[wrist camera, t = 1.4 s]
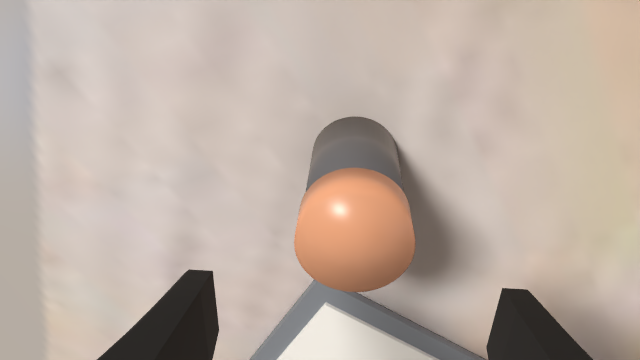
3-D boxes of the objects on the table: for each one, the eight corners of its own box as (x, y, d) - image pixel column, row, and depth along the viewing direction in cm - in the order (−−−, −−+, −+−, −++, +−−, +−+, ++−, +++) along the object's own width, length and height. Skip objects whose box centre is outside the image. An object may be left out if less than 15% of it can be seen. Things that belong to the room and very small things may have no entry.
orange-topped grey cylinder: (417, 144, 20) (440, 232, 14) (366, 208, 21) (369, 308, 16) (341, 97, 19) (335, 172, 14) (293, 167, 20) (272, 258, 15)
